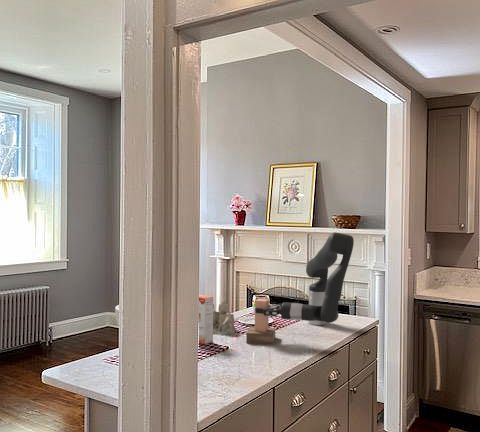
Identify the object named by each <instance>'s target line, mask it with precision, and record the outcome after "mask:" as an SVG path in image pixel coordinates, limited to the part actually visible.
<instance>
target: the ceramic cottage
mask: <svg viewBox="0 0 480 432" xmlns="http://www.w3.org/2000/svg"><path fill="white" fill-rule="evenodd" d="M235 333H236V327H235V316H234V313H231V312H230V307H229V304H227V302H226V299H224V298H223V300H222V301H221V303H220V304H218V311H216V310H215V304H214V303H213V334H215V335H223V336H225V335H226V336H227V335H234V334H235Z"/></svg>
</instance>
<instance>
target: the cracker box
mask: <svg viewBox="0 0 480 432" xmlns="http://www.w3.org/2000/svg"><path fill="white" fill-rule="evenodd" d="M213 304H214V297H213V296H210V295H206V294H205V295H204V294H199V343H198V344H201V345H204V344H205V345H207V344H211V343H213V342H214V333H213Z"/></svg>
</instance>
